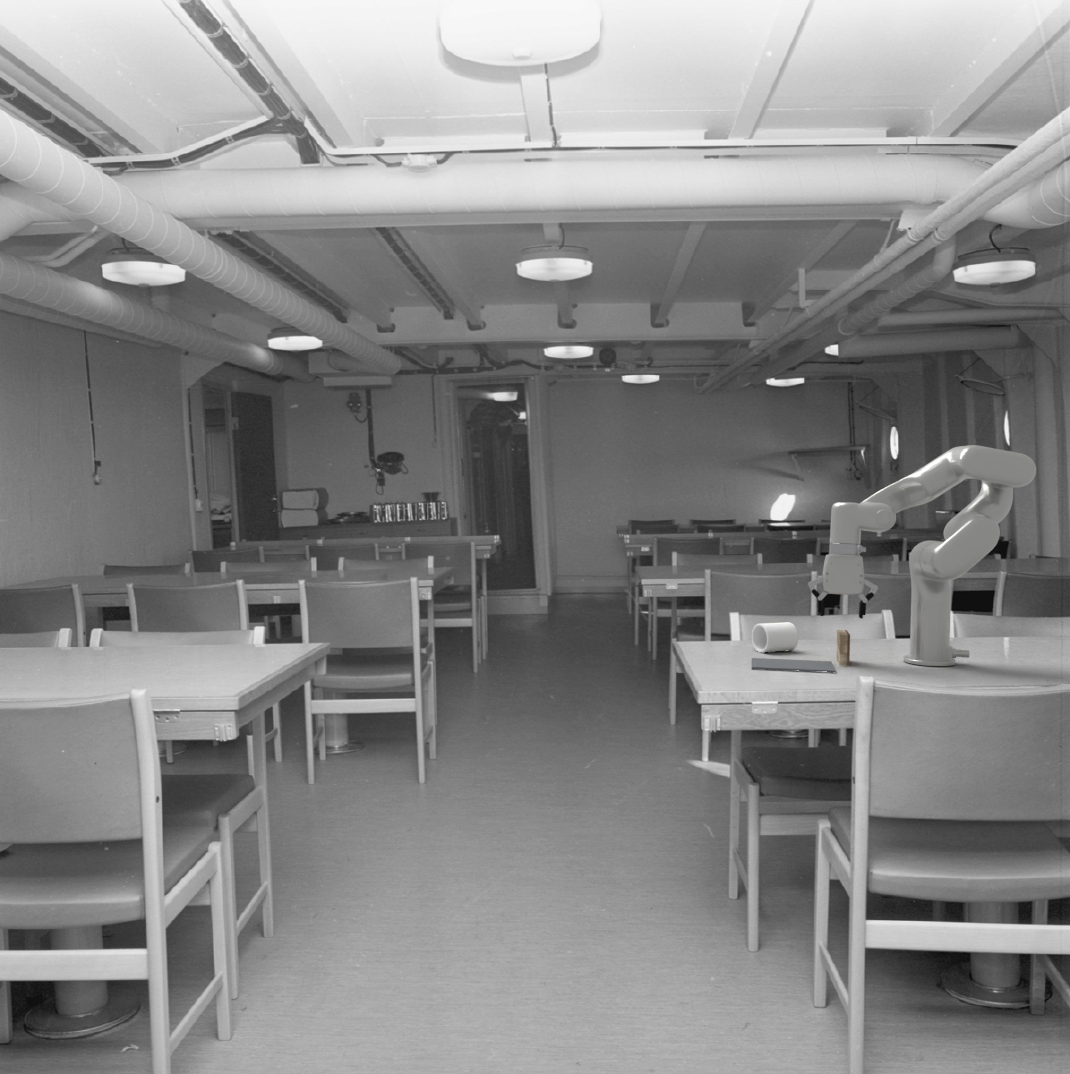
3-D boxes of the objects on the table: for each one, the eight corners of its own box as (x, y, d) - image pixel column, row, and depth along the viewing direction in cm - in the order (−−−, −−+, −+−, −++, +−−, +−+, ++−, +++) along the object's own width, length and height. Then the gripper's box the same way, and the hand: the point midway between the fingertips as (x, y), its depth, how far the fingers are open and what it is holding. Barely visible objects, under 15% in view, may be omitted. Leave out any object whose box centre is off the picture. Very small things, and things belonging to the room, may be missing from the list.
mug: (798, 653, 272) (798, 624, 272) (768, 655, 269) (768, 625, 268) (771, 646, 284) (772, 618, 283) (742, 648, 280) (742, 620, 279)
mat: (831, 663, 255) (831, 661, 255) (835, 673, 242) (836, 670, 242) (751, 660, 260) (751, 657, 259) (751, 669, 246) (751, 666, 246)
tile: (846, 660, 261) (846, 630, 260) (849, 666, 252) (850, 634, 252) (836, 660, 261) (837, 629, 261) (839, 665, 252) (840, 634, 252)
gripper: (878, 551, 257) (874, 617, 258) (808, 548, 261) (805, 613, 262) (881, 552, 250) (878, 620, 251) (810, 549, 253) (807, 616, 254)
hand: (841, 616), depth 256 cm, fingers open, 9 cm apart
